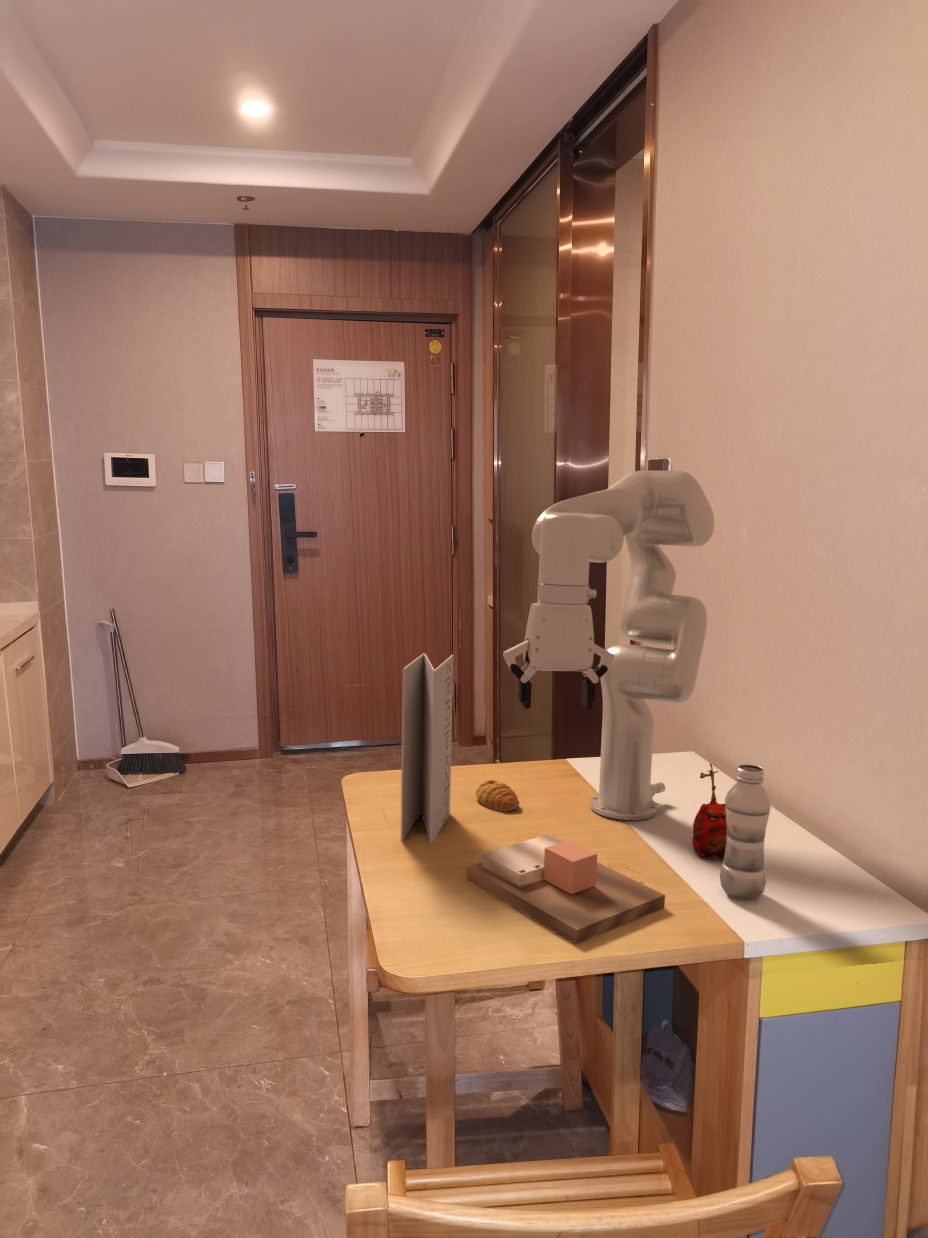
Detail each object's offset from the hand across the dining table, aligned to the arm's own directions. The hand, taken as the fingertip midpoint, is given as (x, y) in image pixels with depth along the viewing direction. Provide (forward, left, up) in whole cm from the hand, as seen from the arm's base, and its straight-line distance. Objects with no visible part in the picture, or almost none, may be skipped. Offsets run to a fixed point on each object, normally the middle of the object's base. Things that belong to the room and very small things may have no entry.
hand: (555, 707), depth 138 cm
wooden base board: (+3, +6, -27) cm, 28 cm away
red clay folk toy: (-28, +10, -27) cm, 41 cm away
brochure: (+5, -27, -27) cm, 39 cm away
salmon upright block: (+3, +7, -25) cm, 26 cm away
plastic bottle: (-19, +22, -27) cm, 40 cm away
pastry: (-13, -29, -28) cm, 42 cm away
